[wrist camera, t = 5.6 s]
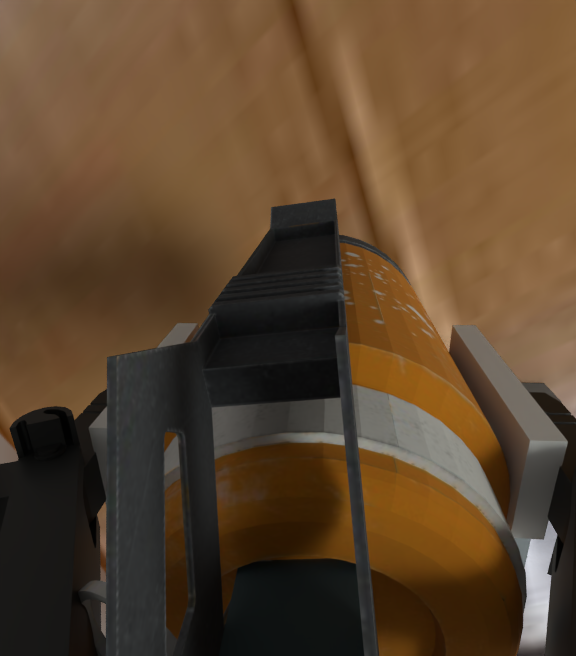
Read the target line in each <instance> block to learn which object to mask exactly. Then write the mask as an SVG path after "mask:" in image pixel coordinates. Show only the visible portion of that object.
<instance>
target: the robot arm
mask: <svg viewBox="0 0 576 656" xmlns="http://www.w3.org/2000/svg"><path fill="white" fill-rule="evenodd" d="M198 330H199V329H198V323H177V324H176V326H175V327H174V328H173V329H172V330H171V331H170V333H169V334H168V335H167V336H166V337H165V339H164V340H163V341H162V342H161V343H160V344H159V346H158V347H157V348H160V347H165V346H171V345H176V344H182V343H187V342H190V341H191V340H192V338H193V337H194V335H195V334H196V333H197V331H198ZM449 354H450V355H451V357H452V359H453V361H454V363H455V364H456V366H457V368H458V370H459V371H460V373H461V375H462V377H463V378H464V380H465V382H466V384H467V386H468V387H469V389H470V391H471V393H472V394H473V396H474V398H475V400H476V401H477V403H478V405H479V407H480V409H481V410H482V412H483V414H484V416H485V417H486V419H487V421H488V423H489V424H490V426H491V428H492V430H493V432H494V434H495V436H496V438H497V440H498V442H499V444H500V446H501V448H502V450H503V453H504V457H505V461H506V464H507V468H508V472H509V477H510V503H509V509H508V514H507V520H506V521H507V523H508V525H509V527H510V530H511V532H512V534H513V536H514V538H524V539H544V536H545V532H546V528H547V524H548V520H549V521H550V522H551V524H552V526H553V528H554V529H555V531H556V533H557V534H558V535H557V539H556V543H555V546H554V550H553V554H552V558H551V562H550V565H549V569H548V573H547V574H549V575H552V576H551V588H550V600H549V612H548V623H547V635H546V647H545V656H576V419H575V417H574V416H571V413H570V412H569V411H568V410H567V409H566V407H565V406H564V405H563V404H562V403H561V402H560V401H558V400H556V399H555V398H553V397H551V396H550V395H548V394H546V393H545V392H528V391H527V390H526V388H525V387H524V386H523V385H522V383H521V382H520V381H519V380H518V378H517V377H516V376H515V375H514V373H513V372H512V371H511V369H510V368H509V367H508V366H507V364H506V363H505V362H504V361H503V359H502V358H501V357H500V356H499V354H498V353H497V352H496V351H495V349H494V348H493V347H492V346H491V344H490V343H489V342H488V341H487V339H486V338H485V337H484V336H483V334H482V333H481V332H480V331H479V329H478V328H477V327H476V326H475V325H452V334H451V342H450V351H449ZM10 432H11V435H12V438H13V441H14V445H15V448H16V451H17V454H18V458H19V459H18V461H16V462H10V463H4V464H0V656H98V654H97V651H96V647H95V643H94V637H93V631H92V627H91V622H90V618H89V615H88V612H87V609H86V607H85V606H84V605H83V604H82V603H81V600H80V597H79V594H78V592H79V590H80V589H82V588H83V587H84V586H85V585H86V584H87V583H89V582H90V581H95V580H97V581H100V526H99V521H98V517H97V513H98V512H99V510H100V509H101V507H102V505H103V504H104V502H106V506H107V389H106V390H105V391H103V392H101V393H100V394H99V395H98V396H97V397H96V398H95V399H94V400H93V401H92V402H91V405H88V407H87V408H86V409H85V410H84V411H83V413H81V414H80V415H79V416H78V417H77V418H76V420H75V421H74V417H73V414H72V411H71V410H69V409H68V408H66V407H57V406H55V407H46V408H42V409H38V410H34V411H32V412H30V413H27V414H25V415H23V416H21V417H20V418H19V419H17V420H16V421H15V422H14V423H13V424H12V425H11V427H10ZM90 602H91V609H92V612H93V615H94V618H95V620H96V622H97V624H98V626H99V628H100V630H101V602H100V601H97V600H92V599H90Z"/></svg>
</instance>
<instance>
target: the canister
mask: <svg viewBox="0 0 576 656" xmlns="http://www.w3.org/2000/svg"><path fill="white" fill-rule="evenodd" d="M509 503H510V477H509V472H508V468H507V464H506V461H505V457H504V453H503V450H502V448H501V446H500V444H499V442H498V440H497V438H496V436H495V434H494V432H493V430H492V428H491V426H490V424H489V423H488V421H487V419H486V417H485V416H484V414H483V412H482V410H481V409H480V407H479V405H478V403H477V401H476V400H475V398H474V396H473V394H472V393H471V391H470V389H469V387H468V386H467V384H466V382H465V380H464V378H463V377H462V375H461V373H460V371H459V370H458V368H457V366H456V364H455V363H454V361H453V359H452V357H451V355H450V354H449V352H448V350H447V348H446V347H445V345H444V343H443V341H442V339H441V338H440V336H439V334H438V332H437V331H436V329H435V327H434V325H433V324H432V322H431V320H430V318H429V316H428V315H427V313H426V311H425V309H424V308H423V306H422V304H421V302H420V301H419V299H418V297H417V295H416V293H415V292H414V290H413V288H412V287H411V285H410V283H409V281H408V279H407V278H406V276H405V275H404V273H403V272H402V271H401V269H400V268H399V267H398V265H397V264H396V263H395V262H394V261H393V260H391V259H390V258H389V257H388V256H387V255H386V254H385V253H383V252H382V251H380V250H379V249H377V248H376V247H374V246H372V245H370V244H368V243H366V242H364V241H361V240H359V239H355V238H352V237H348V236H344V235H339V231H338V221H337V211H336V201H335V199H329V200H322V201H314V202H307V203H300V204H292V205H285V206H277V207H271V225H270V230H269V231H268V233H267V234H266V235H265V237H264V238H263V240H262V241H261V243H260V244H259V245H258V247H257V248H256V250H255V251H254V252H253V254H252V255H251V257H250V258H249V259H248V261H247V262H246V264H245V265H244V266H243V268H242V269H241V271H240V272H239V273H238V275H237V276H233V277H232V279H231V280H230V281H229V283H228V284H227V285H226V287H225V288H224V289H223V291H222V292H221V294H220V295H219V296H218V298H217V299H216V300H215V302H214V303H213V304H212V306H211V307H210V308H209V316H208V317H207V319H206V320H205V321H204V323H203V324H202V326H201V327H200V328H199V330H198V331H197V333H196V334H195V335H194V337H193V338H192V340H191V341H190V342H187V343H182V344H176V345H171V346H165V347H160V348H154V349H149V350H143V351H138V352H132V353H127V354H122V355H116V356H111V357H107V513H106V582H103V581H97V580H95V581H90V582H89V583H87V584H86V585H85V586H84V587H83V588H82V589H80V590H79V592H78V594H79V597H80V600H81V603H82V604H83V605H84V606H85V607H86V609H87V612H88V615H89V618H90V622H91V627H92V631H93V637H94V643H95V647H96V651H97V654H98V656H516V654H517V652H518V650H519V645H520V640H521V635H522V629H523V613H524V608H525V603H526V597H527V594H526V572H525V569H524V565H523V562H522V558H521V555H520V551H519V548H518V546H517V543H516V541H515V539H514V536H513V534H512V532H511V530H510V527H509V525H508V523H507V521H506V520H507V514H508V509H509ZM90 599H92V600H97V601H100V602H103V603H105V604H106V638H105V636H104V635H103V633H102V631H101V630H100V628H99V626H98V624H97V622H96V620H95V618H94V615H93V612H92V609H91V602H90Z"/></svg>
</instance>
